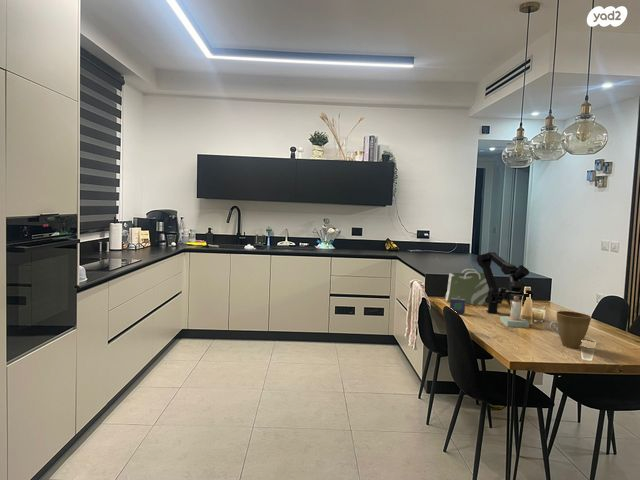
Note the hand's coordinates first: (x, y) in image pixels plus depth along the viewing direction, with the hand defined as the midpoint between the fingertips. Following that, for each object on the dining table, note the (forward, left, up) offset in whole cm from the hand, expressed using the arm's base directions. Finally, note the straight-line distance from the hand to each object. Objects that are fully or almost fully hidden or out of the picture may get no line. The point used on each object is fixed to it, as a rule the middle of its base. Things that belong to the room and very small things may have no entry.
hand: (516, 305), depth 261 cm
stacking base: (-1, 0, -11) cm, 11 cm away
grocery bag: (-56, -11, -11) cm, 59 cm away
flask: (-20, -28, -11) cm, 36 cm away
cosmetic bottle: (-1, 0, -8) cm, 8 cm away
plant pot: (+36, +14, -11) cm, 40 cm away
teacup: (+20, +18, -11) cm, 29 cm away
